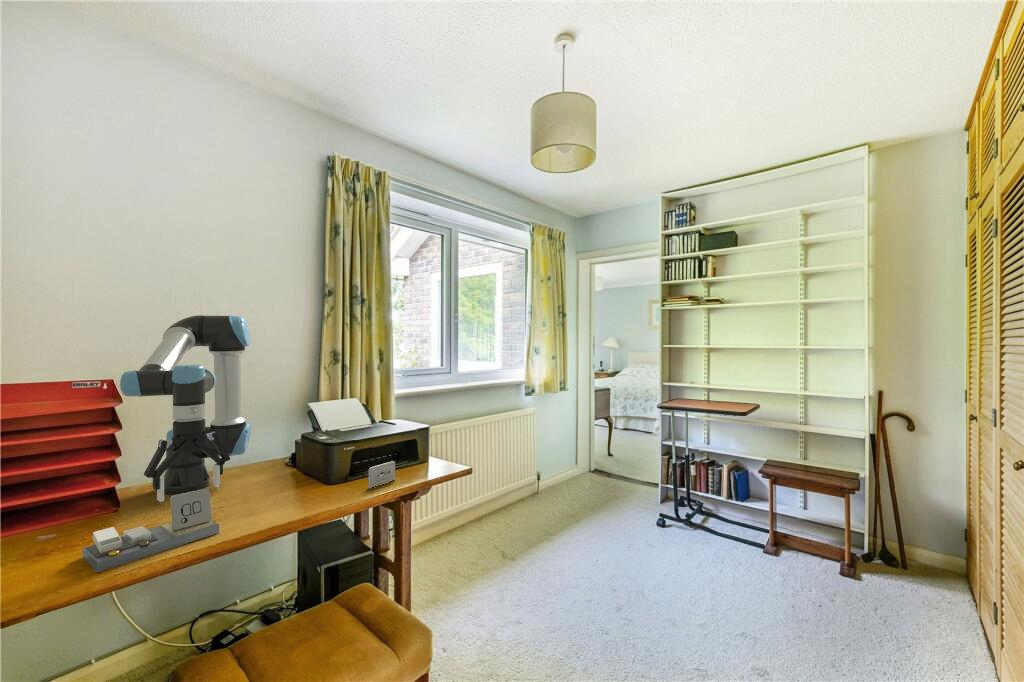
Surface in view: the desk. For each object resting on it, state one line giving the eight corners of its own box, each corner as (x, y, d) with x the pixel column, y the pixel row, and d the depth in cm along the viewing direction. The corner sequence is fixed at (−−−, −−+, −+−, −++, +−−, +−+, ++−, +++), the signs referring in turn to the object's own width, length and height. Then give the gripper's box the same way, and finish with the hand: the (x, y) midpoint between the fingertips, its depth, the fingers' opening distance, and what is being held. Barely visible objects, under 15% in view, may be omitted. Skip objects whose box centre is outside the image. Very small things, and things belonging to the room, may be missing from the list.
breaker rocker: (92, 538, 112) (93, 531, 111) (113, 532, 115) (113, 526, 115) (100, 553, 108) (101, 546, 108) (121, 547, 111) (122, 540, 111)
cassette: (392, 479, 174) (392, 460, 174) (396, 480, 173) (396, 461, 173) (367, 488, 164) (367, 467, 164) (370, 489, 163) (370, 468, 163)
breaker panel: (82, 557, 112) (82, 540, 112) (200, 522, 133) (200, 507, 133) (97, 572, 104) (97, 554, 104) (219, 533, 126) (219, 517, 126)
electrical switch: (172, 532, 120) (172, 497, 121) (167, 528, 123) (167, 495, 124) (212, 521, 127) (211, 488, 128) (206, 518, 131) (205, 486, 131)
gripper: (138, 428, 113) (139, 510, 113) (242, 414, 133) (242, 483, 134) (128, 424, 117) (129, 504, 117) (230, 411, 138) (231, 478, 138)
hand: (189, 493), depth 125 cm, fingers open, 13 cm apart
